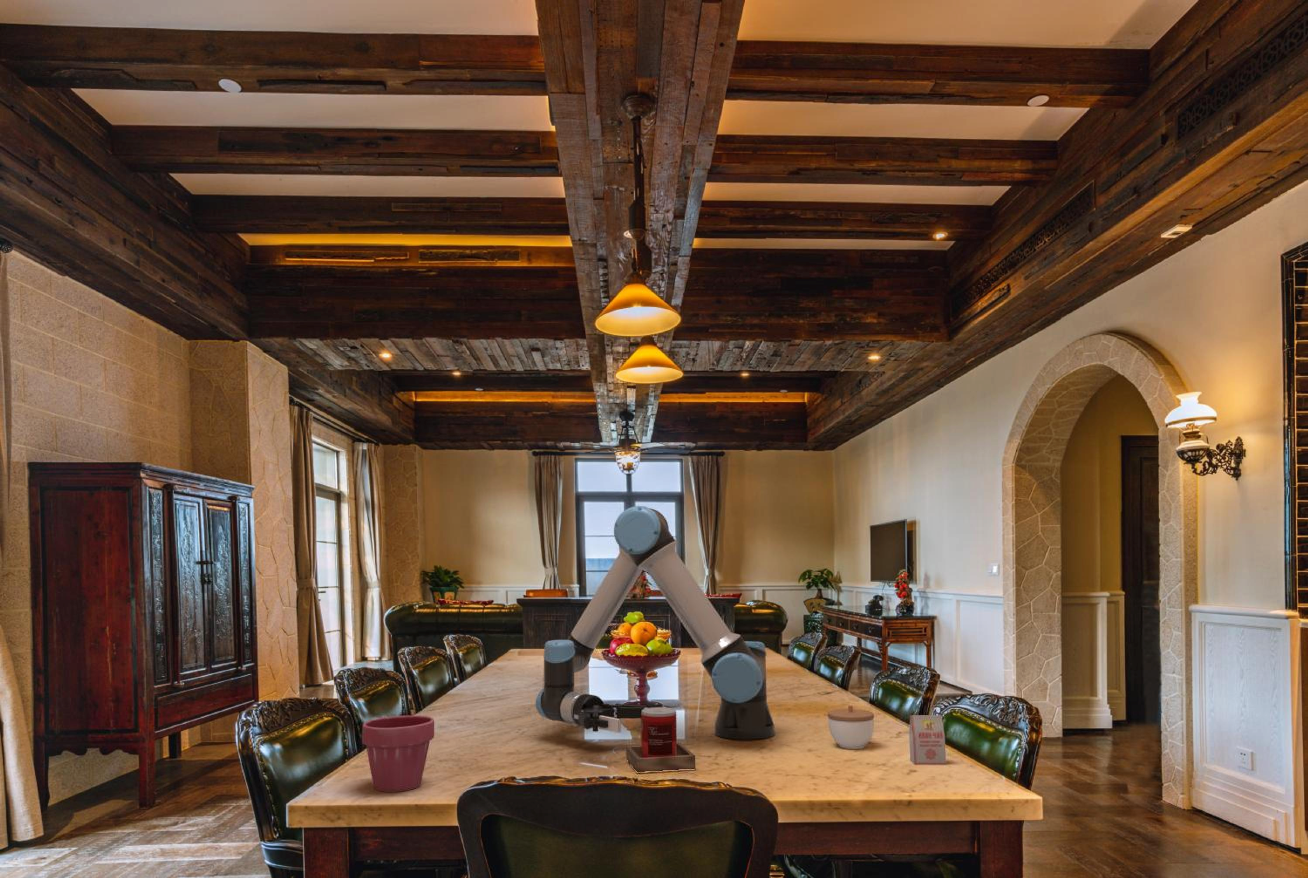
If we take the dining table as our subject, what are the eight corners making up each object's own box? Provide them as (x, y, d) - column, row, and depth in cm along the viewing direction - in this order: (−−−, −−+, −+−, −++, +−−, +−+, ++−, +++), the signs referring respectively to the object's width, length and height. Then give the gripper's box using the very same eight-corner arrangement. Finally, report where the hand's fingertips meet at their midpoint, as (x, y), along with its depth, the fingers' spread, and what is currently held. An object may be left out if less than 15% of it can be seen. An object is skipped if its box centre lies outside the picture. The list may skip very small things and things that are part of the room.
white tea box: (910, 760, 194) (908, 713, 195) (941, 760, 194) (939, 713, 195) (914, 764, 190) (912, 716, 192) (946, 764, 190) (943, 716, 191)
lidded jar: (837, 739, 216) (836, 700, 217) (880, 744, 210) (879, 703, 212) (822, 748, 207) (821, 707, 208) (867, 753, 201) (865, 711, 202)
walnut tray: (680, 756, 200) (680, 743, 200) (695, 770, 188) (695, 755, 188) (626, 760, 197) (626, 746, 198) (637, 774, 185) (637, 759, 185)
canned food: (660, 756, 198) (660, 705, 199) (684, 762, 192) (683, 710, 193) (634, 761, 193) (633, 710, 194) (657, 768, 187) (657, 714, 188)
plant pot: (370, 778, 184) (372, 715, 186) (438, 776, 185) (440, 713, 187) (352, 797, 170) (354, 728, 172) (426, 794, 171) (427, 726, 173)
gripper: (622, 718, 220) (682, 730, 205) (540, 733, 204) (599, 747, 188) (622, 687, 221) (681, 697, 206) (541, 700, 204) (599, 711, 189)
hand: (642, 721), depth 197 cm, fingers open, 13 cm apart
